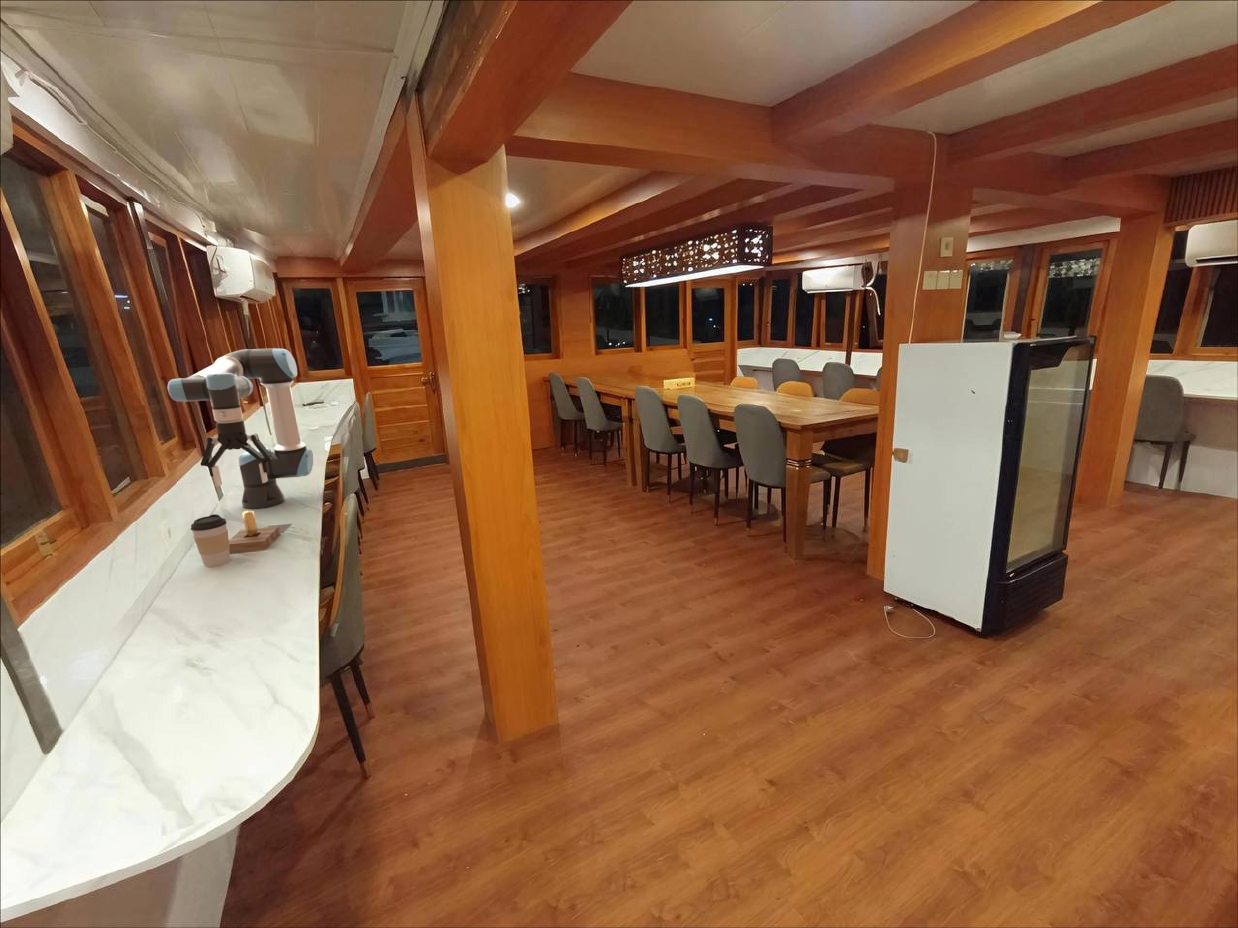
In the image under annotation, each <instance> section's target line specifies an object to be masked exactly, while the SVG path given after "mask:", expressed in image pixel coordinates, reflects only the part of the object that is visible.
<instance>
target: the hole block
mask: <svg viewBox="0 0 1238 928" xmlns="http://www.w3.org/2000/svg"><path fill="white" fill-rule="evenodd" d="M257 531H258V536H257V537H248V538H247V534H246V529H245V528H244V529H240V530H239V531H238V532H237V533H235V534H234V535H233V536H232V537H231V538H230V539H229V552H230V554H235V553H244V552H255V551H263V550H264V551H265V550H268V549H269V548H270V546H271V545H272V544H274V542H275V541H276V540H277V539H278V538H279V536H281V535H282V533H280V527H279V526H275V527H268V526H265V527H257Z"/></svg>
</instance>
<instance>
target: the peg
mask: <svg viewBox="0 0 1238 928" xmlns="http://www.w3.org/2000/svg"><path fill="white" fill-rule="evenodd" d="M241 513H242V519H243V523H244V529H246V534H247V538H248V537H257V536H258V531H257V528H258V527H257V522H256V517H255V512H254V510H251V509H250V510H249V509H248V510H244V511H242V512H241Z"/></svg>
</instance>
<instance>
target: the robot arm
mask: <svg viewBox="0 0 1238 928" xmlns="http://www.w3.org/2000/svg"><path fill="white" fill-rule="evenodd" d="M297 376H298V367H297V363H296V360H295V358H294V356H293V355H292V353H291V352H290V350H287V349H285V348H275V347H274V348H255V349H254V348H253V349H252V348H251V349H248V348H246V349H239V350H236V351H235V350H234V351H233V352H229V353H226V354H224V355H222V356H221V357H218V358H217V359H216V360H215V361H214V362H213V364H211V365H209V366H208V367H205V368H203V369H202V370H200V371H198V372H196V373H194V374H192V375H190V376H187V377H184V378H182V377H179V378H173V379H170V380H169V381H168V383H167V391H168V395H169V397H170V398H171V399H172V400H173V401H175V402H186V403H188V402H198V401H199V402H200V401H201V402H202V401H210V405H211V409H212V415H213V420H214V421H215V422H216V423H215V429H216V433H217V436H214V435H213V436H209V437H207V438H206V447H205V450H204V453H203V456H202V458H201V461H200V466H201V467H207V468H208V471H209V476H210V477H213V480H214V485H215V487H220V486H221V485H223V482H222V478H221V473H220V469H219V465H216V464H217V462H218V461H219V460H220V458H221V457H222V455H224V453H225V452H226V450H228V451H230V450H240V449H242V450H243V451H244V452H242V453H241V454H239V456H238V466H239V471H240V475H241V478H242V479H241V481H242V485H243V495H242V497H241V498H242V499H241V506H242V508H244V509H248V510H249V509H250V510H251V509H262V508H263V509H265V508H269V507H273V506H275V505H280V504H281V503H283V502H284V501H285V500H286V499H285V495H284V493H283V492H282V490H281V488H280V487H279V485H278V483H277V479H287V478H288V479H289V478H299V477H300V478H301V477H307V476H309V475H310V474H311V473H312V471H313V467H314V455H313V454H314V453H313V450H312V449H310V448H307V444H306V443H304V442H303V441H302V440H301V434H300V429H299V425H298V420H297V413H296V408H295V403H294V398H293V393H292V388H291V386H292V384H293V383H294V378H296V377H297ZM251 379H252V380H253V379H254V380H255V379H256V380H257V379H259V382H260V385H262V386H263V387H265V390H266V396H267V399H268V403H269V408H270V409H269V410H270V414H271V415H270V416H271V419H272V424H273V429H274V434H275V438H276V443H277V444H276V445H275V446H274V447H273V451H272V449H271V448H270V447H266V446H265V445H264V444H263V443H262V441H261V440H260V439H259V434H257V433H254V434H249V435H248V434H247V432H246V426H245V422H244V421H243V418H244V415H243V411H242V407H241V402H240V399H245V398H248V396H250V395H251V394H252V392H253V390H254V385H253V383H252V381H251ZM248 440H249V441H251V442H252V443H253V445H254V447H256V449H255V448H254V447H252V445H251V444H250V443H249V442H248ZM216 443H219V444H220V447H219V448H218V450H217V452H215V454H214V455H213V456H212V454H213V450H214V448H215V445H216ZM245 451H246V452H245ZM211 456H212V457H211Z"/></svg>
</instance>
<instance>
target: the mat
mask: <svg viewBox="0 0 1238 928" xmlns="http://www.w3.org/2000/svg"><path fill="white" fill-rule="evenodd" d="M275 526H279V527H280V533H281V534H285V532H286V531H287V530H288V529H289V528H290V527H291V526H292V523H285V524H274V525H273V524H272V525H267V527H275Z"/></svg>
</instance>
